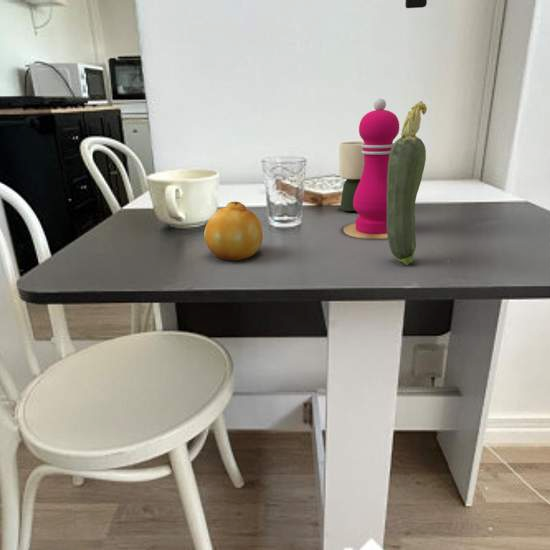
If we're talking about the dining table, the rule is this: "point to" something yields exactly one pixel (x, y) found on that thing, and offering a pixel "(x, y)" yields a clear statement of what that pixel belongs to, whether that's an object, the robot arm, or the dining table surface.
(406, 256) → the vegetable
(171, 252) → the dining table surface
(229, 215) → the fruit
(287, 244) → the dining table surface
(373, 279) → the dining table surface
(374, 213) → the pepper mill
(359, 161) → the character mug
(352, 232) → the coaster
